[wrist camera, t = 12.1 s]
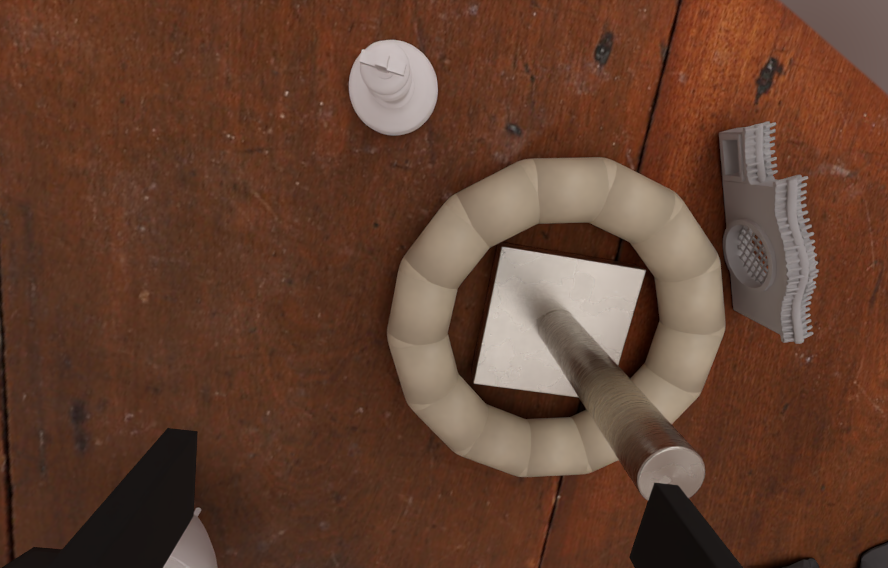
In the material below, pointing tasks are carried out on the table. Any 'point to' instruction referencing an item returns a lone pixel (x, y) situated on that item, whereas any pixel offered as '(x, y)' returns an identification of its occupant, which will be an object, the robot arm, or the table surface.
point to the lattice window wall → (766, 235)
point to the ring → (508, 213)
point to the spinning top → (193, 547)
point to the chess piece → (393, 87)
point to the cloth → (879, 564)
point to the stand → (579, 353)
